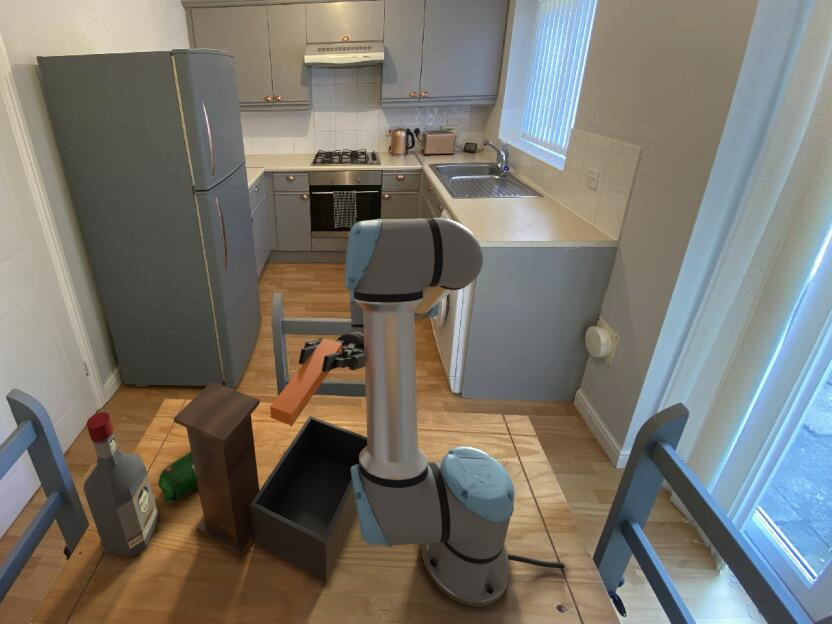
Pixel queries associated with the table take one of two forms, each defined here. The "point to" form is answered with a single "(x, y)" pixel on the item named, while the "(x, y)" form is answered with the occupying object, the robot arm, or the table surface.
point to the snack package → (178, 478)
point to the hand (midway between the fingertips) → (313, 360)
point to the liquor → (119, 493)
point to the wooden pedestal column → (223, 463)
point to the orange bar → (303, 384)
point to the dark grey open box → (310, 498)
